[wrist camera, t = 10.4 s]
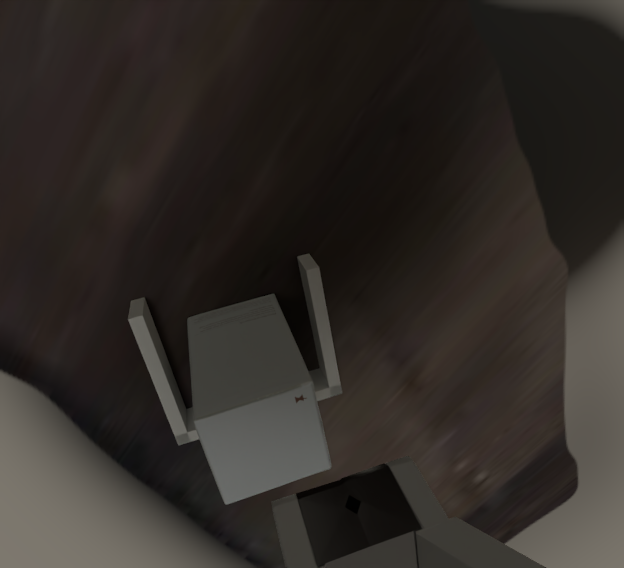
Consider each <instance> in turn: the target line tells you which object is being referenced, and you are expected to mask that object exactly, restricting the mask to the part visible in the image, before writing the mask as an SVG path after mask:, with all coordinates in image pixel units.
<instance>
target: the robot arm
mask: <svg viewBox="0 0 624 568" xmlns="http://www.w3.org/2000/svg"><path fill="white" fill-rule="evenodd" d="M296 496H297V497H296ZM272 510H273V514H274V518H275V523H276V527H277V531H278V536H279V540H280V544H281V549H282V553H283V557H284V562H285V566H286V568H546V567H544V566H542V565H540V564H539V563H537V562H535V561H533V560H531V559H530V558H528V557H526V556H524V555H523V554H521V553H519V552H517V551H515V550H514V549H512V548H510V547H508V546H507V545H505V544H503V543H501V542H499V541H498V540H496V539H494V538H492V537H490V536H489V535H487V534H485V533H483V532H482V531H480V530H478V529H476V528H474V527H473V526H471V525H469V524H467V523H466V522H464V521H462V520H460V519H458V518H457V517H454V518H451V519H448V517H447V515H446V514H445V512H444V510H443V509H442V507H441V506H440V504H439V502H438V501H437V499H436V497H435V496H434V494H433V493H432V491H431V489H430V488H429V486H428V484H427V483H426V481H425V479H424V478H423V476H422V475H421V473H420V471H419V470H418V468H417V466H416V465H415V463H414V462H413V460H412V459H411V458H410V457H409V456H406V457H403V458H400V459H397V460H394V461H391V462H388V463H386V464H381V465H378V466H375V467H372V468H370V469H367V470H364V471H361V472H358V473H356V474H353V475H350V476H347V477H344V478H342V479H341V480H338V481H335V482H332V483H329V484H325V485H322V486H319V487H316V488H312V489H309V490H306V491H303V492H300V493H296V495H295V494H294V495H291V496H288V497H285V498H281V499H278V500H275V501H272Z"/></svg>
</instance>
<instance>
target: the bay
mask: <svg viewBox="0 0 624 568" xmlns="http://www.w3.org/2000/svg"><path fill="white" fill-rule="evenodd" d="M297 260H298V264H299V269H300V274H301V279H302V284H303V289H304V294H305V299H306V304H307V309H308V313H309V318H310V323H311V328H312V333H313V338H314V343H315V348H316V353H317V358H318V363H319V367H320V368H318V369H315V370H312V371H308V372H309V374H310V376H311V378H312V381H313V384H314V389H315V394H316V398H317V401H320V400H323V399H326V398H329V397H332V396H335V395H339V394H342V389H341V384H340V378H339V373H338V367H337V362H336V357H335V351H334V346H333V340H332V335H331V329H330V324H329V318H328V313H327V307H326V302H325V297H324V291H323V286H322V280H321V275H320V269H319V266H318V265H317V264H316V262H315V261H314V260H313V258H312V257H311V255H310V254H309V253H308V254H305V255H301V256H297ZM128 321H129V323H130V326H131V328H132V331H133V333H134V336H135V338H136V341H137V343H138V346H139V348H140V351H141V353H142V356H143V358H144V361H145V363H146V366H147V368H148V371H149V373H150V376H151V378H152V381H153V383H154V386H155V388H156V391H157V393H158V396H159V398H160V401H161V403H162V406H163V408H164V411H165V413H166V416H167V418H168V421H169V423H170V426H171V428H172V431H173V433H174V436H175V438H176V440H177V443H178V445H182V444H185V443H188V442H191V441H194V440H198V439H199V436H198V434H197V431H196V428H195V425H194V416H193V407H191V408H188V409H186V407H185V404H184V402H183V399H182V396H181V394H180V391H179V388H178V386H177V383H176V380H175V378H174V375H173V372H172V370H171V367H170V364H169V362H168V359H167V356H166V354H165V351H164V348H163V345H162V343H161V340H160V337H159V335H158V332H157V329H156V327H155V324H154V321H153V319H152V316H151V313H150V311H149V308H148V305H147V303H146V300H145V297H144V298H140V299H136V300H132V301H131V304H130V310H129V316H128Z"/></svg>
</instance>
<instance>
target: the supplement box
mask: <svg viewBox="0 0 624 568" xmlns="http://www.w3.org/2000/svg"><path fill="white" fill-rule="evenodd" d="M187 328H188V343H189V358H190V371H191V385H192V401H193V416H194V425H195V428H196V431H197V434H198V436H199V439H200V442H201V444H202V447H203V450H204V452H205V455H206V458H207V460H208V463H209V465H210V468H211V470H212V473H213V476H214V478H215V481H216V483H217V486H218V488H219V491H220V493H221V496H222V498H223V501H224V503H225V504H230V503H233V502H236V501H239V500H242V499H244V498H247V497H250V496H253V495H256V494H259V493H262V492H264V491H267V490H270V489H273V488H276V487H279V486H282V485H284V484H287V483H290V482H292V481H295V480H298V479H301V478H304V477H307V476H310V475H313V474H316V473H319V472H322V471H325V470H328V469H330V468H331V461H330V456H329V452H328V447H327V443H326V438H325V434H324V429H323V423H322V420H321V416H320V412H319V407H318V403H317V398H316V394H315V389H314V384H313V381H312V378H311V376H310V374H309V372H308V369H307V367H306V365H305V362H304V360H303V358H302V356H301V353H300V351H299V349H298V346H297V344H296V342H295V340H294V337H293V335H292V333H291V331H290V328H289V326H288V324H287V322H286V319H285V317H284V315H283V313H282V310H281V308H280V306H279V303H278V301H277V299H276V296H275V294H270V295H266V296H262V297H258V298H255V299H251V300H248V301H244V302H240V303H237V304H233V305H230V306H226V307H222V308H219V309H215V310H212V311H208V312H205V313H201V314H198V315H195V316H192V317H189V318H188V319H187Z"/></svg>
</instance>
